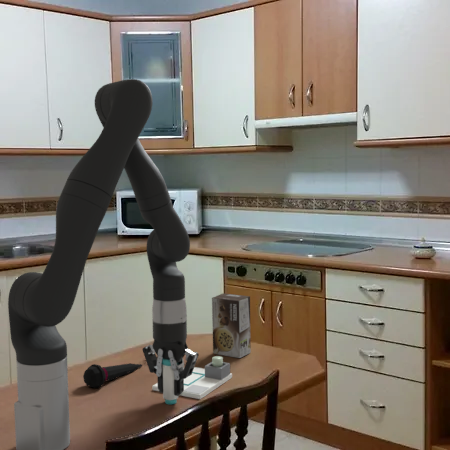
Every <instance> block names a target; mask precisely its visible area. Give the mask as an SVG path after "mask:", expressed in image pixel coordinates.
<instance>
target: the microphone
mask: <svg viewBox="0 0 450 450" xmlns="http://www.w3.org/2000/svg"><path fill="white" fill-rule="evenodd" d="M141 367H143V364H142V363H129V362H128V363H123V364H115V365H109V366H102V365H99V364H96V363H94V364H91V365H89V366H87V369H85V371H83V377H82V378H83V382H84V383H85V385H86V386H87V387H91V388H95V389H99V388H101V387H102V386H104V385H105V382H107V381H113V380H116V379H117V378H119V377H122V376H125V375H128V374H130V373H132V372H135V371H136V370H138V369H139V368H141Z"/></svg>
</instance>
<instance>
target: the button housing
mask: <svg viewBox="0 0 450 450" xmlns="http://www.w3.org/2000/svg"><path fill="white" fill-rule="evenodd" d="M204 369H205V377H207V378H213V379H218V380H222V379H224V378H225V377H227V376H228V375H230V373H231V363H230V362H225V361H223V366H222V367H214V366H212V361H210V362H209V363H207V364H206V365H204Z"/></svg>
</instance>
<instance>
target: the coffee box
mask: <svg viewBox="0 0 450 450" xmlns="http://www.w3.org/2000/svg"><path fill="white" fill-rule="evenodd" d="M211 306H212V307H211V314H212V315H211V317H212V354H213V353H214V354H213V355H218V356H225V357H231V358H238V359H241V358H243V357H245V356H247V355H249V354H251V352H252V351H251V350H252V349H251V347H252V346H251V295H250V296H249V295H240V294H234V293H233V294H232V293H224V292H223V293H220V294H218V295H216V296H213V297H211Z"/></svg>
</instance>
